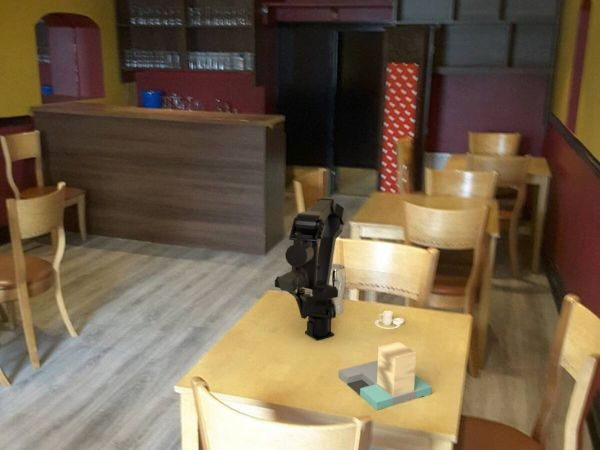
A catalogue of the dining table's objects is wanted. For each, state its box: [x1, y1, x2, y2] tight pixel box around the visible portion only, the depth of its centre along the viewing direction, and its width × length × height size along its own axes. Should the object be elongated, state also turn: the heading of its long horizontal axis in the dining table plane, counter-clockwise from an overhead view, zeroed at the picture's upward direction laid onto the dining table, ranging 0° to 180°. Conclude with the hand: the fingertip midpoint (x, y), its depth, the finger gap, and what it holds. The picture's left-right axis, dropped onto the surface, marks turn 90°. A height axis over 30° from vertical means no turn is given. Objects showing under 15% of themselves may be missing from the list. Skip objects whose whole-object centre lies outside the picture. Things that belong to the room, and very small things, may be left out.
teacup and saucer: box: [374, 310, 405, 330], centre depth 193 cm, size 9×8×4 cm
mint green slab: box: [359, 374, 433, 411], centre depth 152 cm, size 7×16×2 cm, turn 117°
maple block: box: [377, 340, 417, 397], centre depth 151 cm, size 7×6×10 cm
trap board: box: [338, 359, 417, 406], centre depth 157 cm, size 18×16×2 cm
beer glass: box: [329, 263, 347, 315], centre depth 201 cm, size 7×7×15 cm
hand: (303, 318), depth 167 cm, fingers closed
